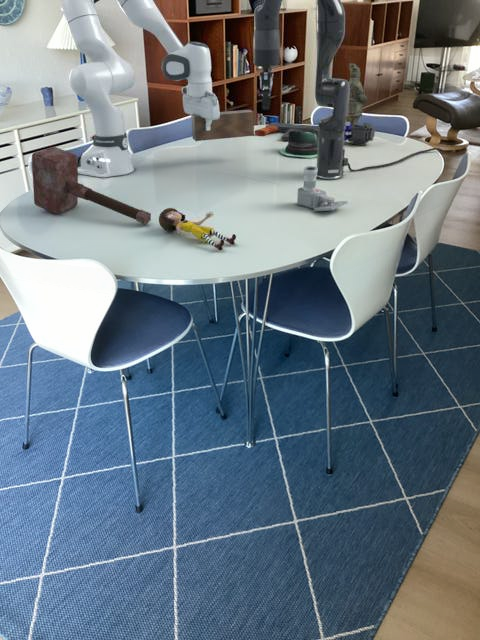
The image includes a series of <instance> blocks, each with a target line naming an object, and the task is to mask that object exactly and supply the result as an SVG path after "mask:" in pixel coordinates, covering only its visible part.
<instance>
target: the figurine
mask: <svg viewBox="0 0 480 640" xmlns="http://www.w3.org/2000/svg"><path fill="white" fill-rule="evenodd" d="M214 215H215V213H214V212H212V211H209V212H208V213H206V214H205V217H204V218H203V219H201V220H200V221H191V220H188V219H186V214H184V213H183V212H180V211H178V210H177V209H176V208H174V207H168V208H167V207H166V208H165V209H163V210H162V211H161V212H160V213H159V216H158V223H159V226H160V227H161V228H162V230H164V231H167V232H175V231H176V232H177V234H178V235H180V234H181V231H183V232H186V233H191V234H192V235H193V236H194V237H195V238H196V239H198V240H200V241H202V242H203V243H208V244H209V245H210V246H213V247H214V248H215V249H217V250H218V251H223V250H224V247H223V246H224V245H225V242H227V243H229V245H231V246H233V245H235V243H236V242H235V240H236V238H237V235H236V234H235V233H233V234H232V236H231V237H226V236H225V235H223V234H222V233H220V232H219V231H217V230H215V229H214V228H213V227H211V226H210V227H209V226H204V225H202V224H203V223H204V222H205V221H206V220H208V219H210V218H211V217H212V216H214ZM214 236H215V237H216V238H217V239H219V240H220V242H219V243H218V242H214V241H213V240H212V239H211V238H212V237H214Z"/></svg>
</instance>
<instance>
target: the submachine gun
mask: <svg viewBox="0 0 480 640" xmlns="http://www.w3.org/2000/svg"><path fill="white" fill-rule="evenodd" d="M318 126H319V125H311V124H300V123H299V124H297V123H285V122H268V124H266V125H265V126H264V127H262V128H259V129H256V130H255V129H254V135H257V136H266V135H268V134H272V133H276V132H277V133H279V132H280V133H284V134H282V135H281V137H280V140H281V141H288V140H289V131H291V130H294V129H298V128H311V129H316V130H318V128H319V127H318Z"/></svg>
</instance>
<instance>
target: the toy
mask: <svg viewBox="0 0 480 640" xmlns="http://www.w3.org/2000/svg"><path fill="white" fill-rule="evenodd" d="M357 124H358V123H357ZM357 124H355V125H354V127H352V124H350V122H345V131H344V142H346V141H348V142H349V143H352V145H358V146H359V145H360V146H366V144H367V143H369V142H373V140H374V138H375V133H376V129H375V127H374V126H372V123H370V122H363V124H358V125H357Z"/></svg>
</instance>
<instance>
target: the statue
mask: <svg viewBox="0 0 480 640" xmlns="http://www.w3.org/2000/svg"><path fill="white" fill-rule="evenodd" d="M348 70H349V73H350V75H349V76H350V78H349V81H348V83H349V88H350V93H349V102H348V110H347V118H346V122H350V124H352V127H354V125H355V124H357V125H359V124H358V123H359V121H360V118H361V117H362V116H363V108H364V104H365V103H367V102H368V96H367V95H366V94H365V91H364V86H363V84H362V82H361V68H360V67H359V66H358V65H357V64H356V63H351V62H350V63H348ZM346 122H345V123H346Z"/></svg>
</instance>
